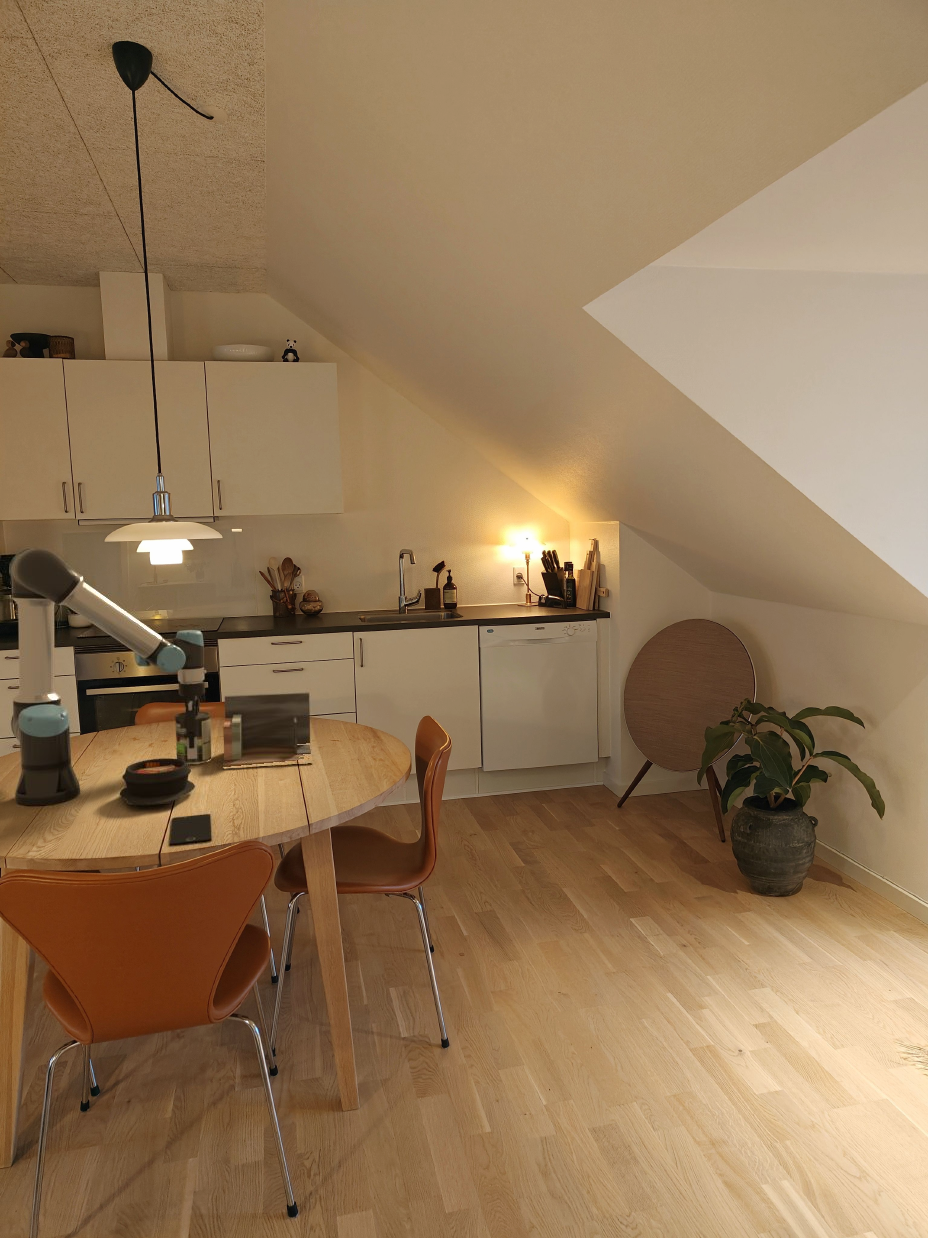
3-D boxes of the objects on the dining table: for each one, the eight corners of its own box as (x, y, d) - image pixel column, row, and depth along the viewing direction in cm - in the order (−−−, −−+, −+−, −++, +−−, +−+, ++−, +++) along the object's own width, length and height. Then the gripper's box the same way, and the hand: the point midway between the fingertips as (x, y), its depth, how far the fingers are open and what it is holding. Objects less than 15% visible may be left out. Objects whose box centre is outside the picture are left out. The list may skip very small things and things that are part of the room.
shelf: (312, 764, 247) (311, 704, 245) (222, 769, 241) (220, 709, 239) (310, 747, 266) (309, 692, 264) (226, 752, 261) (224, 695, 259)
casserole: (128, 785, 227) (126, 755, 226) (198, 780, 231) (197, 751, 230) (111, 815, 202) (109, 781, 201) (190, 809, 207) (189, 776, 206)
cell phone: (169, 848, 182) (169, 843, 182) (172, 821, 199) (172, 817, 199) (211, 843, 185) (211, 839, 185) (210, 817, 202) (210, 813, 202)
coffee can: (187, 767, 244) (185, 720, 242) (170, 760, 251) (168, 715, 249) (218, 760, 251) (217, 714, 250) (201, 754, 258) (199, 709, 257)
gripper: (201, 687, 238) (203, 763, 241) (207, 674, 260) (209, 744, 262) (174, 689, 237) (176, 764, 239) (182, 675, 259) (185, 745, 261)
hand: (194, 753), depth 251 cm, fingers closed on coffee can, 10 cm apart
